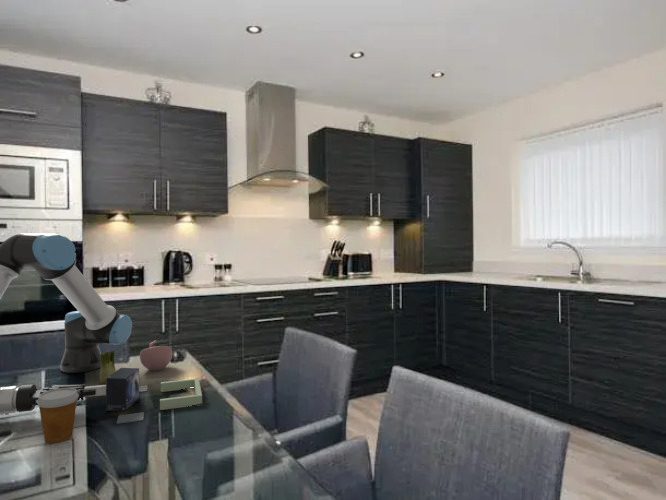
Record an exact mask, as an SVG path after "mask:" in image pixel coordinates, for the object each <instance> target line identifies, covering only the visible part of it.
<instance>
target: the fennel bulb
mask: <svg viewBox="0 0 666 500" xmlns="http://www.w3.org/2000/svg"><path fill="white" fill-rule="evenodd" d="M100 356H101V367H100V368H99V369H100V370H99V384H100V385H106V378H107V377H108V376H110V375H111V374H113V373H114V372H116V365H115V350H107V351H104V352H103V353H102V352H101V354H100Z"/></svg>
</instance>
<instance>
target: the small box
mask: <svg viewBox="0 0 666 500" xmlns="http://www.w3.org/2000/svg"><path fill="white" fill-rule="evenodd" d="M139 386H140V368H139V367H138V368H137V367H120V368H118V369H117V370H115V372H114V373H113V374H111V375H110V376H108V377H107V378H106V395H105V412H126V411H127V410H129V408H131V407H132V406H133V405H134V404H135V403H136V402H137V401H139V399H140V392H139Z"/></svg>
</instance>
